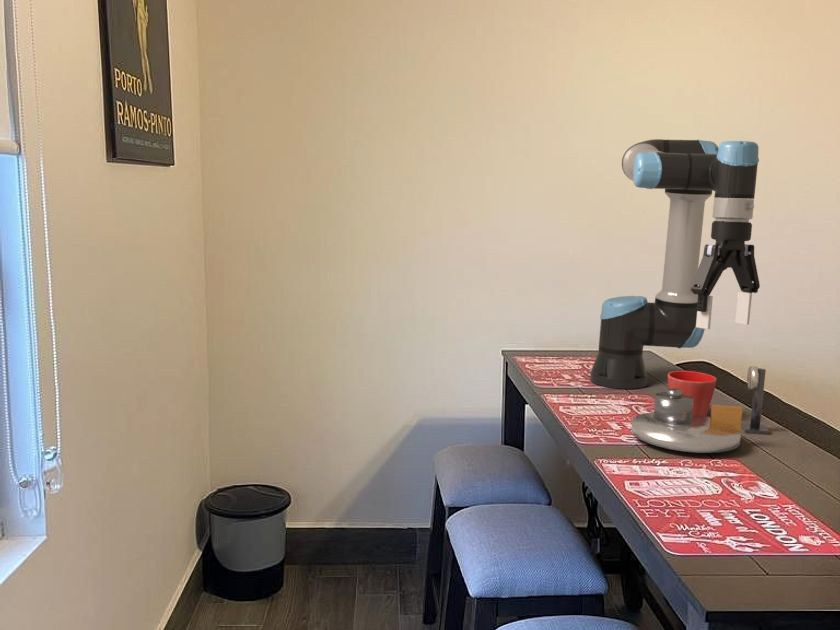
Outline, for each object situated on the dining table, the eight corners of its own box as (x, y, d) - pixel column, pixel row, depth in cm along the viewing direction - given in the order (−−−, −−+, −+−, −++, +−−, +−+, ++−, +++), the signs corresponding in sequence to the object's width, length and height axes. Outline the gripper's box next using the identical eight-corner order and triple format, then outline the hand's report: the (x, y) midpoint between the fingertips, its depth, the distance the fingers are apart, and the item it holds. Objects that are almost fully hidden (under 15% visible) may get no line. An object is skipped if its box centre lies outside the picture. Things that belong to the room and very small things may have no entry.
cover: (651, 412, 186) (653, 384, 185) (688, 415, 185) (691, 386, 184) (655, 423, 179) (658, 393, 177) (694, 425, 177) (697, 396, 176)
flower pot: (716, 424, 190) (720, 383, 188) (666, 420, 192) (669, 379, 190) (709, 412, 200) (713, 372, 199) (662, 408, 202) (665, 369, 201)
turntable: (627, 417, 189) (629, 387, 188) (728, 424, 186) (730, 394, 185) (636, 447, 168) (639, 414, 167) (750, 456, 165) (754, 422, 163)
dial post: (740, 426, 189) (746, 363, 187) (763, 427, 188) (770, 365, 186) (745, 432, 184) (751, 368, 182) (769, 434, 184) (775, 370, 181)
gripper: (711, 220, 156) (702, 332, 159) (783, 221, 171) (773, 324, 174) (677, 219, 162) (669, 327, 165) (750, 220, 176) (741, 319, 180)
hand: (722, 326), depth 169 cm, fingers open, 13 cm apart
